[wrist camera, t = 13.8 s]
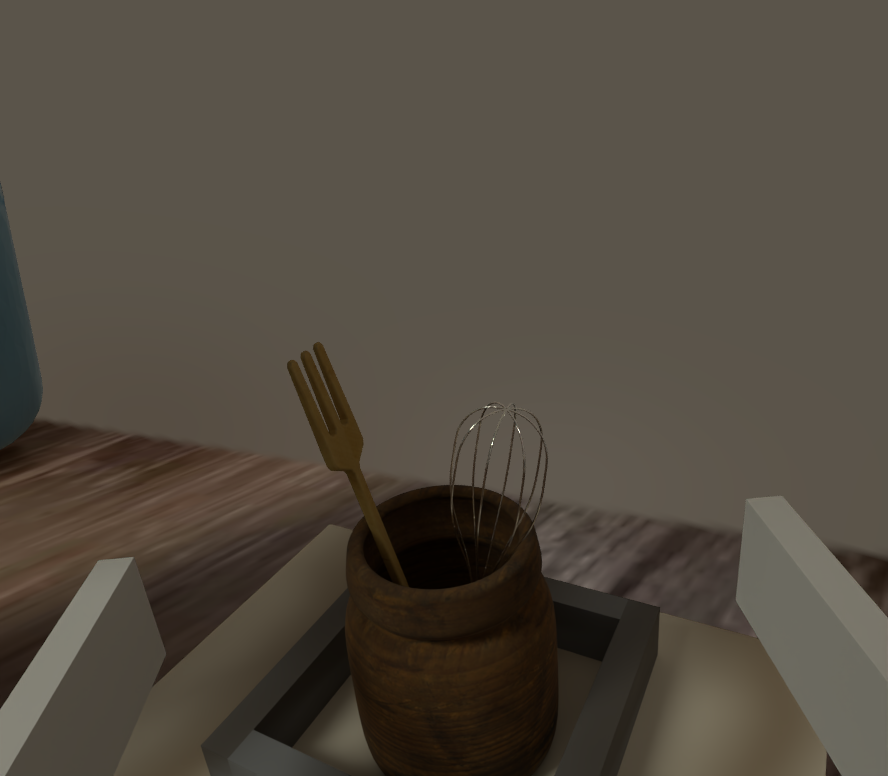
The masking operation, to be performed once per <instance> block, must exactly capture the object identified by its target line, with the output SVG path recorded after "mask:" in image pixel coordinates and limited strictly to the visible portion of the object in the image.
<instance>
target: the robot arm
mask: <svg viewBox="0 0 888 776" xmlns="http://www.w3.org/2000/svg"><path fill="white" fill-rule="evenodd" d="M42 393H43V387H42V378H41V373H40V368H39V363H38V358H37V353H36V349H35V344H34V339H33V334H32V329H31V325H30V320H29V315H28V310H27V306H26V301H25V297H24V292H23V288H22V283H21V278H20V273H19V269H18V264H17V259H16V254H15V249H14V245H13V240H12V236H11V231H10V226H9V221H8V216H7V212H6V207H5V202H4V196H3V192H2V187H1V183H0V449H2V448H4V447H6V446H8V445H9V444H11V443H13V442H14V440H16V439H17V438H18V437H20V436H21V435H22V434H23V433H24V432H25V431H26V430H27V429H28V428H29V426H30V425H31V424H32V423H33V421H34V419H35V417H36V415H37V413H38V412H39V409H40V405H41V401H42ZM736 602H737V604H738V605H739V607H740V609H741V610H742V612H743V613H744V615H745V617H746V618H747V620H748V622H749V623H750V625H751V627H752V628H753V630H754V632H755V633H756V635H757V637H758V638H759V640H760V642H761V643H762V645H763V647H764V648H765V650H766V652H767V653H768V655H769V657H770V658H771V660H772V661H773V663H774V665H775V666H776V668H777V670H778V671H779V673H780V675H781V676H782V678H783V680H784V681H785V683H786V685H787V686H788V688H789V690H790V691H791V693H792V695H793V696H794V698H795V700H796V701H797V703H798V705H799V706H800V708H801V709H802V711H803V713H804V714H805V716H806V718H807V719H808V721H809V723H810V724H811V726H812V728H813V729H814V731H815V733H816V734H817V736H818V738H819V739H820V741H821V743H822V744H823V746H824V748H825V749H826V751H827V753H828V754H829V756H830V757H831V759H832V761H833V762H834V764H835V766H836V767H837V769H838V771H839V772H840V774H841V776H888V618H887V616H886V615H885V614H884V613H883V612H882V611H881V609H880V608H879V607H878V606H877V605H876V604H875V602H874V601H873V600H872V599H871V598H870V597H869V596H868V594H867V593H866V592H865V591H864V590H863V589H862V587H861V586H860V585H859V584H858V583H857V582H856V581H855V579H854V578H853V577H852V576H851V575H850V574H849V572H848V571H847V570H846V569H845V568H844V567H843V566H842V564H841V563H840V562H839V561H838V560H837V559H836V557H835V556H834V555H833V554H832V553H831V552H830V550H829V549H828V548H827V547H826V546H825V545H824V544H823V542H822V541H821V540H820V539H819V538H818V537H817V535H816V534H815V533H814V532H813V531H812V530H811V529H810V528H809V526H808V525H807V524H806V523H805V522H804V520H803V519H802V518H801V517H800V516H799V515H798V514H797V512H795V510H794V509H793V508H792V507H791V506H790V504H789V503H788V502H787V501H786V500H785V499H784V497H783V496H771V497H760V498H750V499H746V504H745V514H744V523H743V533H742V543H741V553H740V562H739V572H738V582H737V592H736ZM165 656H166V651H165V648H164V645H163V642H162V639H161V636H160V633H159V630H158V627H157V624H156V621H155V618H154V615H153V612H152V609H151V606H150V603H149V600H148V597H147V594H146V591H145V588H144V585H143V582H142V579H141V576H140V573H139V570H138V567H137V564H136V561H135V558H134V557H128V558H118V559H107V560H98V562H97V563H96V565H95V566H94V568H93V570H92V571H91V573H90V574H89V576H88V577H87V579H86V580H85V582H84V583H83V585H82V586H81V588H80V589H79V591H78V592H77V594H76V595H75V597H74V598H73V600H72V601H71V603H70V604H69V606H68V607H67V609H66V610H65V612H64V614H63V615H62V617H61V618H60V620H59V621H58V623H57V624H56V626H55V627H54V629H53V630H52V632H51V633H50V635H49V636H48V638H47V639H46V641H45V642H44V644H43V645H42V647H41V648H40V650H39V651H38V653H37V655H36V656H35V658H34V659H33V661H32V662H31V664H30V665H29V667H28V668H27V670H26V671H25V673H24V674H23V676H22V677H21V679H20V680H19V682H18V683H17V685H16V686H15V688H14V689H13V691H12V692H11V694H10V695H9V697H8V699H7V700H6V702H5V703H4V705H3V706H2V708H1V709H0V776H114V773H115V771H116V769H117V767H118V764H119V762H120V760H121V757H122V755H123V753H124V750H125V748H126V746H127V744H128V741H129V739H130V737H131V734H132V732H133V730H134V727H135V725H136V723H137V721H138V718H139V716H140V714H141V711H142V709H143V707H144V704H145V702H146V700H147V698H148V695H149V693H150V691H151V688H152V686H153V684H154V681H155V679H156V677H157V675H158V672H159V670H160V668H161V665H162V663H163V661H164V658H165Z"/></svg>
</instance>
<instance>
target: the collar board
mask: <svg viewBox="0 0 888 776" xmlns="http://www.w3.org/2000/svg"><path fill="white" fill-rule="evenodd" d="M352 531H353V530H351V529H347V528H343V527H340V526H336V525H332V524H329V525H328V526H327V527H326V528H325V529H324V530H323V531H322V532H321V533H319V534H318V535H317V536H316V537H315V538H314V539H313V540H312V541H311V542H310V543H309V544H307V545H306V546H305V547H304V548H303V549H302V550H301V551H300V552H299V553H298V554H297V555H295V556H294V557H293V558H292V559H291V560H290V561H289V562H288V563H287V564H286V565H285V566H284V567H282V568H281V569H280V570H279V571H278V572H277V573H276V574H275V575H274V576H273V577H272V578H270V579H269V580H268V581H267V582H266V583H265V584H264V585H263V586H262V587H261V588H260V589H258V590H257V591H256V592H255V593H254V594H253V595H252V596H251V597H250V598H249V599H248V600H246V601H245V602H244V603H243V604H242V605H241V606H240V607H239V608H238V609H237V610H236V611H235V612H233V613H232V614H231V615H230V616H229V617H228V618H227V619H226V620H225V621H224V622H223V623H221V624H220V625H219V626H218V627H217V628H216V629H215V630H214V631H213V632H212V633H211V634H209V635H208V636H207V637H206V638H205V639H204V640H203V641H202V642H201V643H200V644H199V645H197V646H196V647H195V648H194V649H193V650H192V651H191V652H190V653H189V654H188V655H187V656H186V657H184V658H183V659H182V660H181V661H180V662H179V663H178V664H177V665H176V666H175V667H174V668H172V669H171V670H170V671H169V672H168V673H167V674H166V675H165V676H164V677H163V678H162V679H160V680H159V681H158V682H157V683H156V684H155V685H154V686H153V687H152V688H151V691H150V693H149V695H148V698H147V700H146V702H145V704H144V707H143V709H142V711H141V714H140V716H139V718H138V721H137V723H136V725H135V727H134V730H133V732H132V734H131V737H130V739H129V741H128V744H127V746H126V748H125V750H124V753H123V755H122V757H121V760H120V762H119V764H118V767H117V769H116V771H115V773H114V776H385V775H384V773H383V772H382V771H381V770H380V768H379V767H378V765H377V764H376V762H375V760H374V759H373V757H372V754H371V752H370V750H369V747H368V745H367V742H366V739H365V736H364V733H363V729H362V725H361V721H360V716H359V712H358V707H357V702H356V697H355V692H354V687H353V682H352V676H351V671H350V666H349V660H348V653H347V646H346V637H345V617H346V609H347V604H348V600H349V597H350V593H349V590H348V587H347V581H346V553H347V545H348V541H349V538H350V535H351V533H352ZM544 578H545V580H546V582H547V584H548V587H549V590H550V593H551V597H552V600H553V605H554V611H555V619H556V632H557V651H558V686H559V699H558V718H557V725H556V731H555V735H554V738H553V741H552V744H551V747H550V749H549V751H548V753H547V755H546V757H545V759H544V761H543V762H542V764H541V765H540V766H539V768H538V769H537V770H536V771H535V773H534V774H533V775H532V776H826V758H827V751H826V749H825V748H824V746H823V744H822V743H821V741H820V739H819V738H818V736H817V734H816V733H815V731H814V729H813V728H812V726H811V724H810V723H809V721H808V719H807V718H806V716H805V714H804V713H803V711H802V709H801V708H800V706H799V705H798V703H797V701H796V700H795V698H794V696H793V695H792V693H791V691H790V690H789V688H788V686H787V685H786V683H785V681H784V680H783V678H782V676H781V675H780V673H779V671H778V670H777V668H776V666H775V665H774V663H773V661H772V660H771V658H770V657H769V655H768V653H767V652H766V650H765V648H764V647H763V645H762V643H761V642H760V640H759V638H755V637H751V636H747V635H744V634H740V633H736V632H733V631H729V630H725V629H721V628H718V627H714V626H710V625H706V624H703V623H699V622H695V621H691V620H688V619H684V618H680V617H676V616H673V615H669V614H665V613H661V612H660V607H656V606H653V605H649V604H645V603H641V602H637V601H634V600H630V599H626V598H622V597H619V596H615V595H611V594H607V593H603V592H600V591H596V590H592V589H588V588H584V587H581V586H577V585H573V584H569V583H566V582H562V581H558V580H554V579H550V578H547V577H544Z"/></svg>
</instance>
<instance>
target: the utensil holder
mask: <svg viewBox="0 0 888 776" xmlns="http://www.w3.org/2000/svg"><path fill="white" fill-rule="evenodd" d="M313 350H314V352H315V355H316V357H317V360H318V362H319V365H320V368H321V370H322V373H323V376H324V378H325V381H326V384H327V386H328V389H329V391H330V394H331V397H332V399H333V402H334V405H335V407H336V410H337V412H338V415H339V417H338V415H337V413H336V411H335V408H334V406H333V404H332V401H331V399H330V397H329V395H328V392H327V390H326V388H325V386H324V383H323V381H322V379H321V377H320V374H319V372H318V370H317V368H316V365H315V363H314V361H313V359H312V356H311V354H310V353H309V352H308V351H303V352H302V353H301V360H302V363H303V365H304V368H305V371H306V373H307V376H308V378H309V381H310V383H311V386H312V389H313V391H314V393H315V396H316V399H317V401H318V404H319V407H320V409H321V412H322V414H323V417H324V419H325V422H326V424H327V427H328V430H329V432H328V430H327V428H326V425H325V423H324V421H323V419H322V417H321V414H320V412H319V410H318V408H317V405H316V403H315V401H314V399H313V397H312V394H311V392H310V390H309V388H308V385H307V383H306V381H305V379H304V377H303V375H302V372H301V370H300V368H299V366H298V363H297V362H296V361H294V360H290V361H289V362H288V363H287V368H288V371H289V373H290V376H291V378H292V381H293V383H294V386H295V388H296V391H297V393H298V396H299V398H300V401H301V403H302V406H303V408H304V411H305V414H306V416H307V418H308V421H309V424H310V426H311V428H312V431H313V433H314V436H315V438H316V441H317V443H318V446H319V448H320V451H321V454H322V456H323V458H324V461H325V463H326V465H327V467H328V468H329V469H330V470H331V471H344V472H345V473H346V474H347V476H348V478H349V481H350V483H351V485H352V488H353V490H354V492H355V495H356V497H357V500H358V502H359V504H360V507H361V509H362V511H363V514H364V517H363V518H362V519H361V520H360V521H359V522H358V524H357V525H356V526H355V528H354V530H353V531H352V533H351V535H350V538H349V541H348V545H347V553H346V581H347V587H348V590H349V593H350V597H349V600H348V604H347V609H346V617H345V637H346V646H347V653H348V660H349V666H350V671H351V676H352V682H353V687H354V692H355V697H356V702H357V707H358V712H359V716H360V721H361V725H362V729H363V733H364V736H365V739H366V742H367V745H368V747H369V750H370V752H371V754H372V757H373V759H374V760H375V762H376V764H377V765H378V767H379V768H380V770H381V771H382V772H383V773H384V775H385V776H532V775H533V774H534V773H535V771H536V770H537V769H538V768H539V766H540V765H541V764H542V762H543V761H544V759H545V757H546V755H547V753H548V751H549V749H550V747H551V744H552V741H553V738H554V735H555V731H556V725H557V718H558V699H559V686H558V651H557V632H556V619H555V611H554V605H553V600H552V597H551V593H550V590H549V587H548V584H547V582H546V580H545V578H544V576H543V574H542V573H541V568H542V557H541V550H540V546H539V542H538V538H537V535H536V531H535V528H534V525H533V524H534V523H535V521H536V518H537V516H538V513H539V510H540V506H541V503H542V498H543V493H544V486H545V480H546V472H547V464H548V452H547V447H546V444H545V441H544V438H543V433H542V428H541V425H540V423H539V421H538V419H537V418H536V416H535V415H534V414H533V413H531V412H530V411H528V410H526V409H523V408H516V407H515V404H514V403H510V404H509V405H508V406H507V408H506V407H505V406H504V405H503V404H501V403H499V402H491V403H489V404H488V405H487V406H486V407H481V408H478V409H476V410H474V411H472V412H471V413H470V414H468V415H467V416H466V417H465V418H464V419H463V421H462V422H461V424H460V425H459V427H458V430H457V433H456V437H455V441H454V448H453V454H452V461H451V469H450V485H441V486H432V487H426V488H421V489H416V490H412V491H409V492H406V493H403V494H400V495H397V496H395V497H393V498H391V499H389V500H387V501H385V502H383V503H381V504H379V505H378V506H376V505H375V503H374V501H373V498H372V496H371V493H370V491H369V489H368V486H367V484H366V481H365V479H364V476H363V474H362V472H361V469H360V463H359V461H360V456H361V452H362V448H363V437H362V435H361V432H360V430H359V427H358V425H357V423H356V420H355V418H354V416H353V414H352V411H351V409H350V407H349V404H348V402H347V400H346V397H345V395H344V393H343V391H342V388H341V386H340V384H339V381H338V379H337V377H336V374H335V372H334V370H333V368H332V365H331V363H330V361H329V358H328V356H327V354H326V352H325V349H324V347H323V345H322V344H321V343H320V342H317V343H315V344H314V346H313ZM494 403H495V404H499V405H501V406H502V407H498V406H490V405H491V404H494ZM511 405H513V406H514V408H509V407H510V406H511ZM487 408H499V409H500V410H497V411H494V412H492V413H489V414H487V415H486V416H484V417H483V415H484V413H485V411H486V409H487ZM481 409H484V411H483V413H482V415H481V418H480V420H479V421H477V422H476V423H475V424H474V425H473V426H472V427H471V428H470V430H469V431H468V432H467V434H466V435H465V437H464V439H463V440H462V443H461V444H460V447H459V450H458V453H457V457H456V462H455V469H454V475H453V482H452V467H453V459H454V453H455V447H456V440H457V436H458V432H459V429H460V427H461V425H462V424H463V422H464V421H465V420H466V419H467V418H468V417H469V416H470V415H471V414H473V413H474V412H476V411H478V410H481ZM513 409H514V410H513ZM516 410H523V411H526V412H528V413H529V414H531V415H532V416H533V417H534V418H535V419H536V421H537V423H538V425H539V428H540V431H539V429H538V428H537V427H536V425H535V424H534V423H533V422H532V421H531V420H530V419H528V418H527V417H526V416H524V415H522V414H521V413H518V412H516ZM499 411H504V412H503V414H502V416H501V418H500V420H499V423H498V425H497V428H496V431H495V433H494V437H493V440H492V443H491V447H490V451H489V455H488V459H487V463H486V469H485V475H484V481H483V487H482V488H478V487H474V472H475V461H476V453H477V446H478V439H479V433H480V427H481V422H482V420H483V419H484V418H486V417H488V416H490V415H491V414H494V413H497V412H499ZM506 411H507V412H508V413H509V414H510V416H511V417H512V419H513V420H514V425H513V432H512V439H511V446H510V453H509V459H508V466H507V472H506V477H505V482H504V487H503V492H502V495H501V494H499V493H496V492H494V491H491V490H487V489H484V488H485V480H486V474H487V469H488V464H489V459H490V455H491V450H492V447H493V444H494V440H495V437H496V434H497V431H498V428H499V426H500V423H501V421H502V418H503V416H504V414H505V412H506ZM510 411H511V412H514V416H513V415H512V414H511V412H510ZM516 414H518V415H520V416H522V417H524V418H525V419H526V420H528V421H529V422H530V423H531V424H532V425H533V426H534V427H535V428H536V430H537V431H538V433H539V434H540V436H541V442H540V451H539V459H538V466H537V472H536V477H535V482H534V486H533V490H532V493H531V496H530V499H529V501H528V504H527V506H526V508H525V511H524V510H523V509H522V508H521V500H522V493H523V486H524V479H525V451H524V444H523V439H522V435H521V432H520V429H519V426H518V424H517V422H516ZM339 418H340V419H339ZM479 422H480V423H479ZM478 423H479V428H478V434H477V441H476V447H475V454H474V463H473V477H472V486H463V485H454V481H455V474H456V468H457V462H458V457H459V453H460V450H461V447H462V445H463V442H464V441H465V439H466V437H467V436H468V434H469V433H470V432H471V430H472V429H473V428H474V427H475V426H476V425H477V424H478ZM515 424H516V427H517V429H518V432H519V435H520V440H521V444H522V451H523V478H522V486H521V493H520V500H519V505H518V504H517V503H515V502H514V501H512V500H511V499H509V498H507V497H505V496H504V491H505V485H506V481H507V475H508V470H509V464H510V457H511V451H512V445H513V438H514V431H515ZM542 441H543V443H544V447H545V452H546V465H545V473H544V480H543V487H542V493H541V498H540V503H539V506H538V510H537V513H536V516H535V518H534V520H533V522H532V521H531V519H530V517H529V516H528V514H527V513H526V510H527V508H528V506H529V503H530V501H531V498H532V495H533V492H534V489H535V485H536V481H537V476H538V470H539V464H540V457H541V450H542ZM451 482H452V485H451Z"/></svg>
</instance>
